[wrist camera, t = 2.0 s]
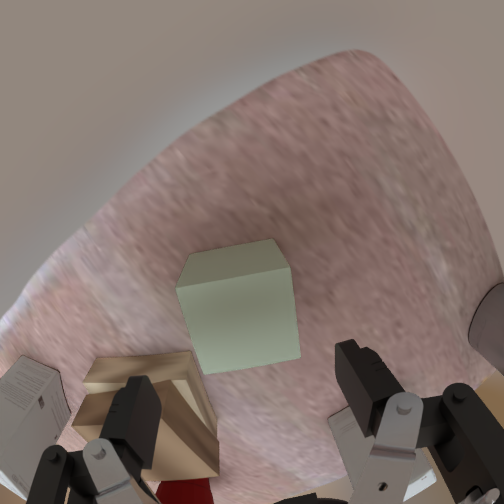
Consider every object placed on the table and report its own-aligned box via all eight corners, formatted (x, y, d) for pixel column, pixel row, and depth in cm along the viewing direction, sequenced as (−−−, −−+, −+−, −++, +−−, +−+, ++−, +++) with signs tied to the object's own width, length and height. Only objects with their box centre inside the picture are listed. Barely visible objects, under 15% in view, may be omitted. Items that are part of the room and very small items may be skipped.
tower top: (170, 379, 19) (161, 418, 15) (219, 441, 21) (219, 475, 17) (86, 394, 19) (71, 426, 15) (140, 451, 21) (134, 480, 18)
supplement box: (325, 418, 26) (358, 510, 14) (383, 383, 25) (435, 468, 13) (346, 439, 28) (377, 515, 16) (396, 410, 28) (439, 481, 15)
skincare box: (72, 414, 24) (33, 505, 10) (35, 398, 23) (-10, 477, 9) (58, 367, 22) (-3, 469, 8) (18, 349, 21) (-47, 434, 7)
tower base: (191, 348, 22) (185, 379, 19) (217, 417, 25) (216, 446, 21) (97, 356, 22) (82, 382, 18) (135, 420, 25) (127, 446, 21)
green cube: (272, 237, 20) (290, 267, 14) (283, 311, 22) (300, 357, 16) (189, 253, 20) (175, 288, 14) (208, 325, 22) (203, 374, 16)
